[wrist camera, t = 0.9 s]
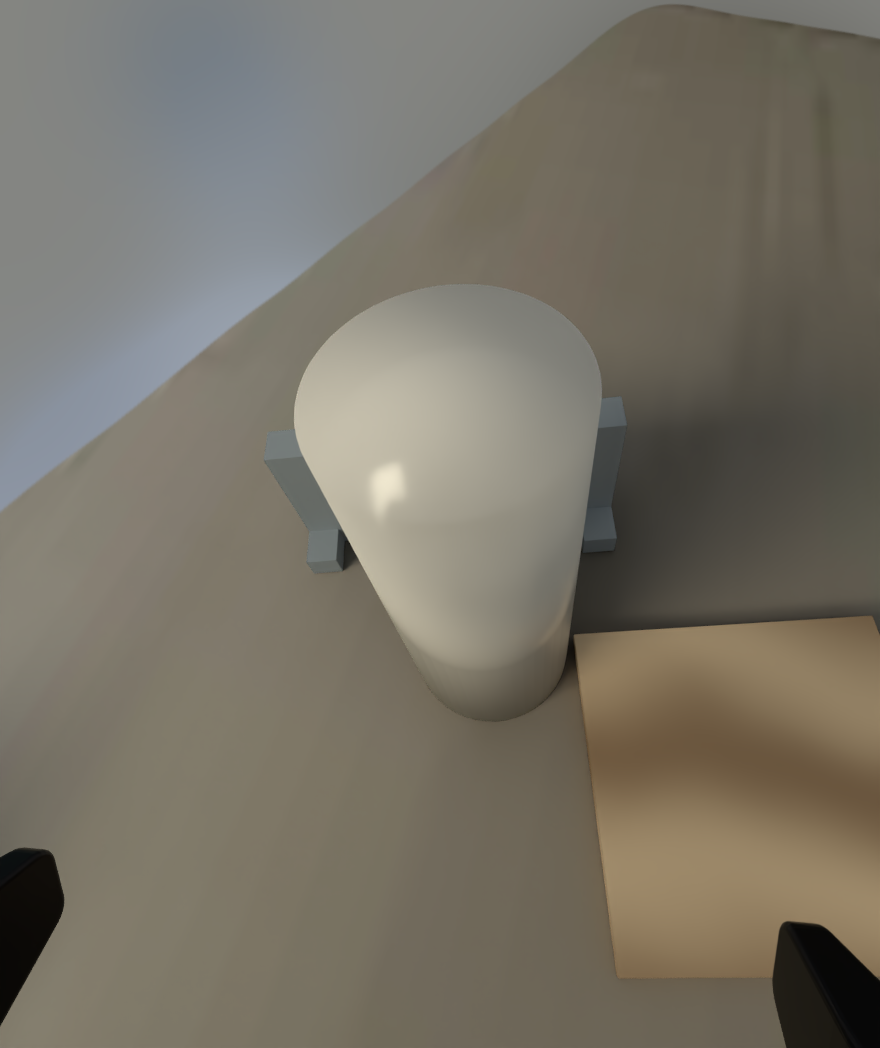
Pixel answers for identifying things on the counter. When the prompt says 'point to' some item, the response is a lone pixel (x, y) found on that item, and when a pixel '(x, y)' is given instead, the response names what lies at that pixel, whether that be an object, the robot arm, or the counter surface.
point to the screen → (331, 537)
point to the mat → (734, 790)
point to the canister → (461, 480)
